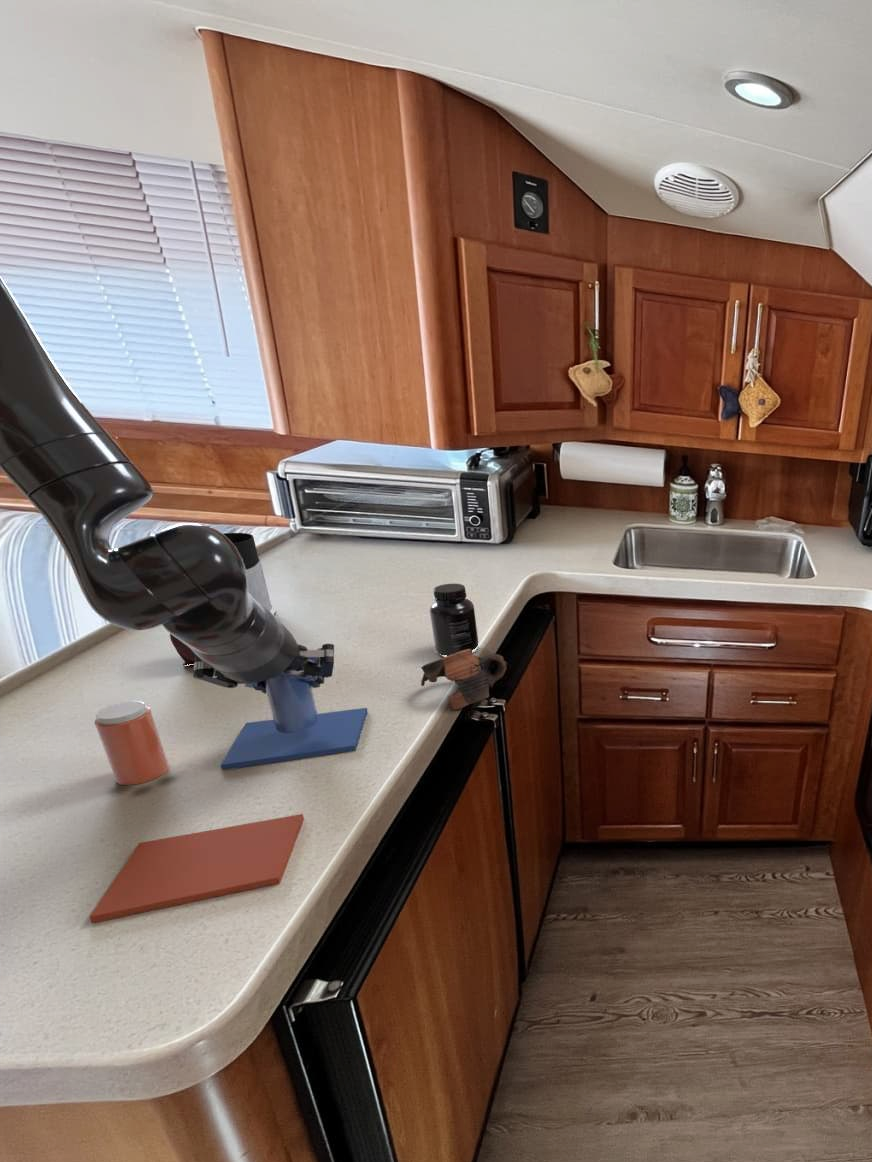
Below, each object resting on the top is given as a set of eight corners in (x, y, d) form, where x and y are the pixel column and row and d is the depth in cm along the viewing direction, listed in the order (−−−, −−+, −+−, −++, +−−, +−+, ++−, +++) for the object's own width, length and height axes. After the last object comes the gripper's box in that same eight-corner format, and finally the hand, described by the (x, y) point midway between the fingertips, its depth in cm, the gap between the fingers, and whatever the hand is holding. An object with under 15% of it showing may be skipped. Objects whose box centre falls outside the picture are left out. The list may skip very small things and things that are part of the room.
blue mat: (221, 770, 79) (220, 765, 78) (247, 727, 87) (246, 722, 87) (355, 750, 84) (354, 745, 84) (367, 712, 93) (367, 707, 93)
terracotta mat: (91, 923, 58) (88, 917, 58) (141, 848, 67) (139, 842, 66) (280, 883, 64) (278, 877, 64) (304, 818, 72) (303, 813, 72)
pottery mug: (433, 720, 93) (410, 669, 92) (440, 715, 102) (420, 668, 101) (516, 686, 98) (495, 637, 97) (517, 684, 106) (497, 639, 106)
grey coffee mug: (281, 604, 124) (263, 530, 118) (260, 634, 112) (240, 553, 106) (223, 608, 120) (202, 532, 115) (196, 640, 108) (171, 556, 103)
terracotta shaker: (108, 788, 74) (83, 723, 71) (127, 765, 78) (103, 702, 75) (160, 780, 76) (137, 716, 73) (175, 759, 80) (155, 697, 77)
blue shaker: (271, 735, 82) (255, 674, 79) (280, 717, 86) (266, 657, 83) (314, 729, 84) (300, 669, 81) (322, 712, 88) (309, 653, 84)
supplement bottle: (484, 642, 116) (477, 581, 112) (472, 659, 110) (465, 595, 106) (443, 642, 115) (435, 580, 111) (429, 659, 109) (420, 594, 104)
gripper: (321, 602, 74) (357, 650, 89) (160, 614, 68) (227, 663, 83) (319, 663, 72) (357, 702, 86) (152, 680, 66) (223, 719, 80)
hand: (293, 683), depth 85 cm, fingers closed on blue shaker, 4 cm apart
